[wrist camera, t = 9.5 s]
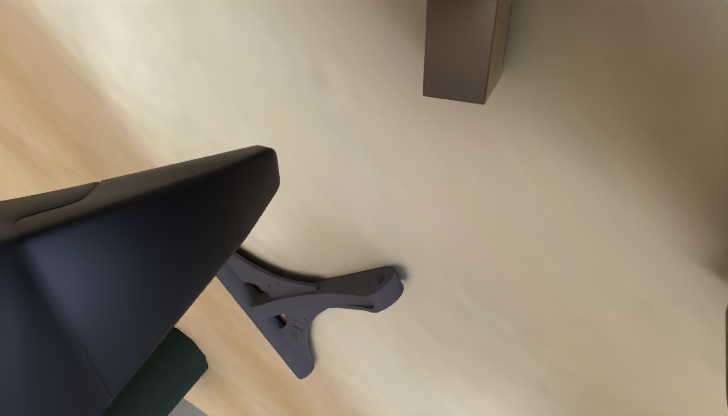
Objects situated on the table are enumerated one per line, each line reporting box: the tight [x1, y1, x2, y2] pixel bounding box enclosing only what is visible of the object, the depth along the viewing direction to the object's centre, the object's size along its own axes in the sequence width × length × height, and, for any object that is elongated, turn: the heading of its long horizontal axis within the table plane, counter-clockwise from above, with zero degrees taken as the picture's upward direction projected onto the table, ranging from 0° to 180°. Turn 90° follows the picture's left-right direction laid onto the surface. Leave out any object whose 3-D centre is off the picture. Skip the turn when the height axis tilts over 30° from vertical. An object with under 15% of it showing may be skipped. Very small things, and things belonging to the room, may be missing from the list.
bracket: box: [216, 252, 404, 379], centre depth 31 cm, size 14×15×3 cm
